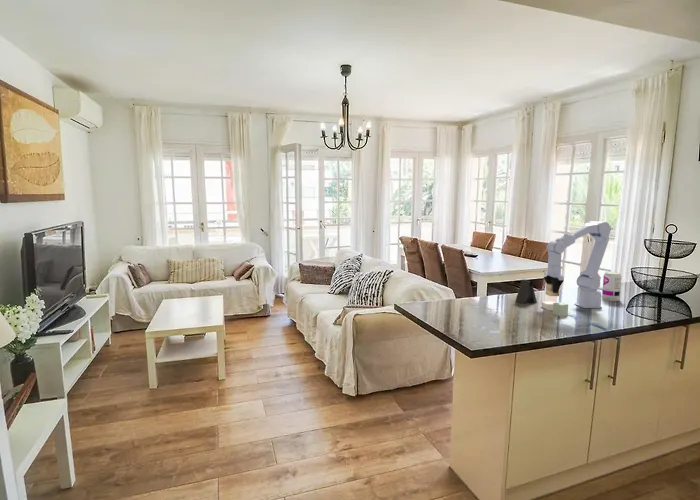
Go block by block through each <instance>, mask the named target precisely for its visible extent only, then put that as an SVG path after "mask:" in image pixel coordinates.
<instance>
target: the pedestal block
mask: <svg viewBox="0 0 700 500" xmlns="http://www.w3.org/2000/svg"><path fill="white" fill-rule="evenodd" d="M553 303H558V302H557V301H541V308H543V309H545V310H547V311H553Z"/></svg>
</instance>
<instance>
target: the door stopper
mask: <svg viewBox="0 0 700 500" xmlns="http://www.w3.org/2000/svg"><path fill="white" fill-rule="evenodd" d="M514 301H515V302H516V301H518V302H517V303H519V302H520V303H519V304H522V303H523V305H528V304H527V303H530V304H537V303H538V301H537V297H536V293H535V289H534V281H531V280H529V279H521V280H520V287H519V288H518V292H517V295H516V298H515V300H514Z"/></svg>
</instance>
